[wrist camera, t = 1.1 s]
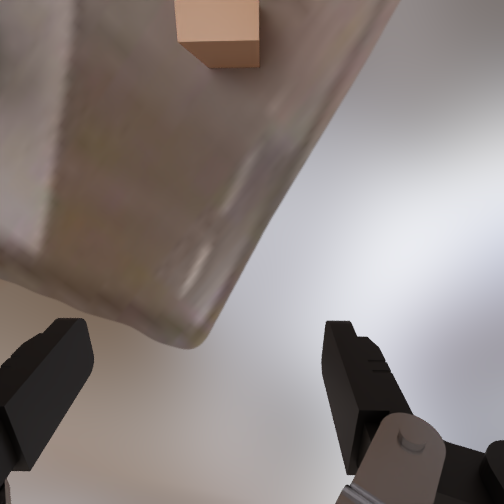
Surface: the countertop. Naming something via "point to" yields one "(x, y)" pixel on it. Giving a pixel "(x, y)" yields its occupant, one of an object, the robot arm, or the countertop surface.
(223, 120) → the countertop surface
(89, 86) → the countertop surface
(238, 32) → the light brown brick
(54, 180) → the countertop surface
